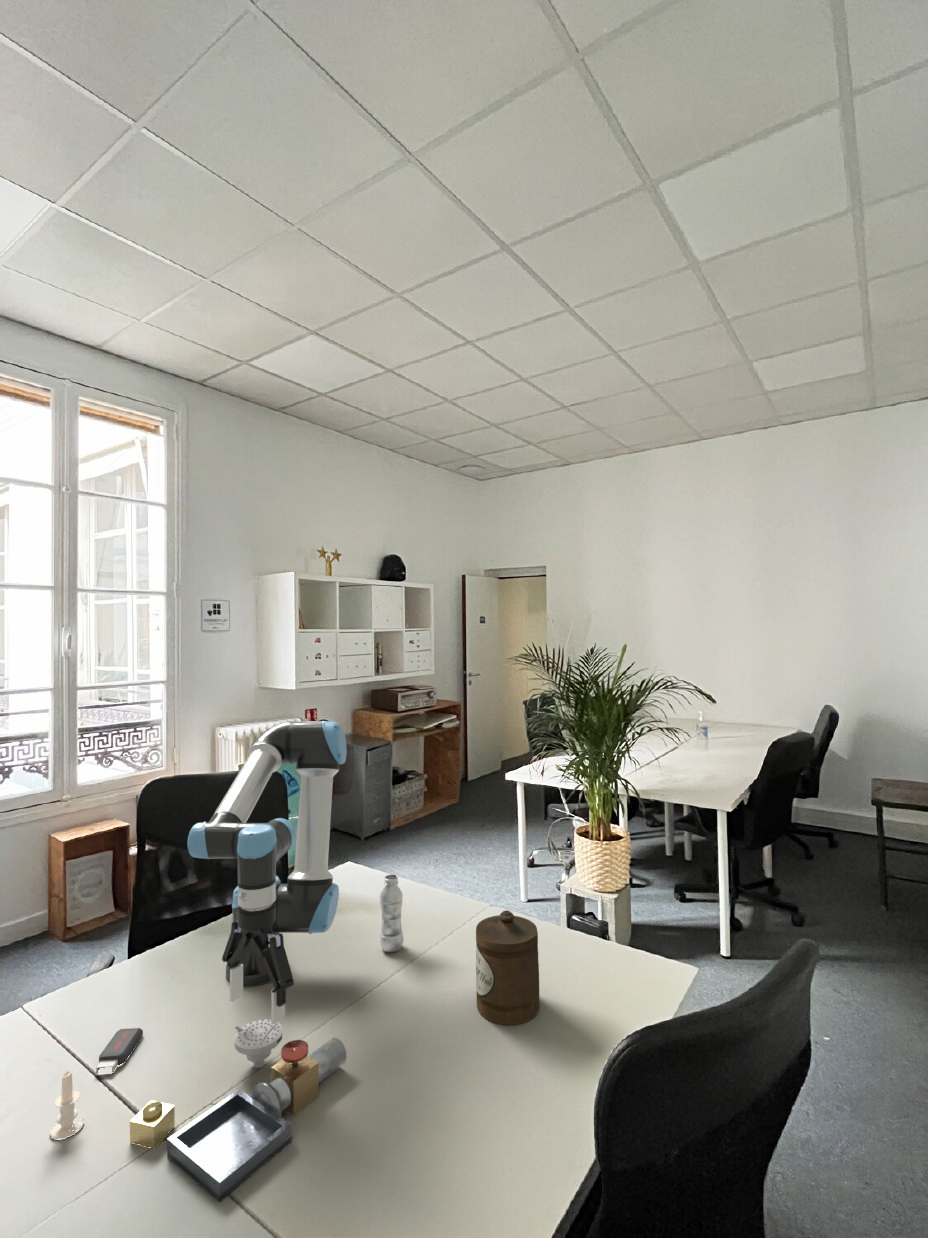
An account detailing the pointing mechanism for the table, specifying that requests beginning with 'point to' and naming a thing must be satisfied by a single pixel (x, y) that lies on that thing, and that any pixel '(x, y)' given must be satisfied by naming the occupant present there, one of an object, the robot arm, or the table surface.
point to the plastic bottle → (391, 915)
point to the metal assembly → (252, 1120)
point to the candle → (66, 1109)
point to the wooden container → (507, 969)
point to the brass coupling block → (152, 1124)
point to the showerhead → (258, 1040)
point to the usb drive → (119, 1048)
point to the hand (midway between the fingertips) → (256, 1009)
